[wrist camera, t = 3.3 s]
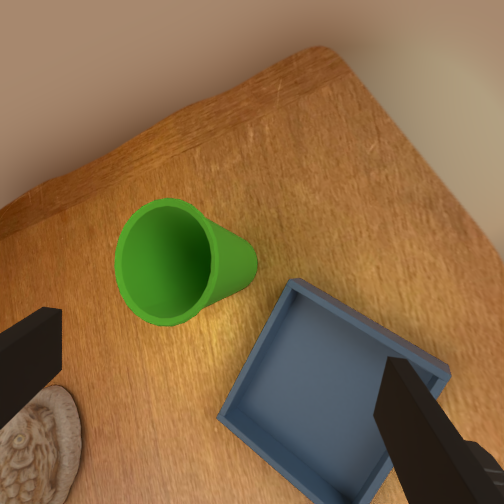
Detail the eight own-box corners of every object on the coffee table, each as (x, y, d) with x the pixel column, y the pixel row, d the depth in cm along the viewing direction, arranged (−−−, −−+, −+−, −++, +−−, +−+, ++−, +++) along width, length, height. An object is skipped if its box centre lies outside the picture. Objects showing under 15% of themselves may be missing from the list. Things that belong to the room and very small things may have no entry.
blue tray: (300, 277, 32) (289, 278, 29) (448, 365, 27) (452, 375, 24) (231, 406, 34) (215, 418, 32) (356, 510, 29) (349, 534, 26)
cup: (295, 246, 32) (240, 236, 22) (248, 329, 34) (177, 353, 24) (221, 202, 36) (145, 176, 26) (182, 279, 37) (96, 282, 28)
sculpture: (100, 418, 41) (10, 460, 32) (55, 536, 44) (-40, 606, 35) (40, 364, 46) (-52, 387, 37) (3, 473, 49) (-93, 519, 39)
